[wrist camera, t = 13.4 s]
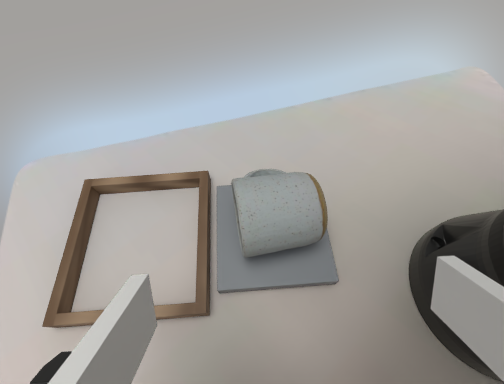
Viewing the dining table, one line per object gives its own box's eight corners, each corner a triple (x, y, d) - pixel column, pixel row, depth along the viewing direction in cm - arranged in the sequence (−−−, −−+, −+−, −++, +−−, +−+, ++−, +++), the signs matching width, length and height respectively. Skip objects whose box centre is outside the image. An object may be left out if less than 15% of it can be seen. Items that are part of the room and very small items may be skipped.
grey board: (313, 185, 33) (315, 178, 32) (335, 283, 27) (338, 280, 26) (218, 192, 33) (216, 186, 32) (219, 293, 27) (217, 290, 26)
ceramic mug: (321, 251, 28) (341, 220, 21) (244, 268, 27) (239, 241, 20) (293, 170, 33) (301, 125, 26) (228, 182, 32) (220, 139, 26)
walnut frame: (210, 179, 34) (207, 170, 32) (209, 315, 26) (206, 313, 24) (93, 188, 34) (84, 179, 32) (56, 327, 26) (42, 326, 24)
